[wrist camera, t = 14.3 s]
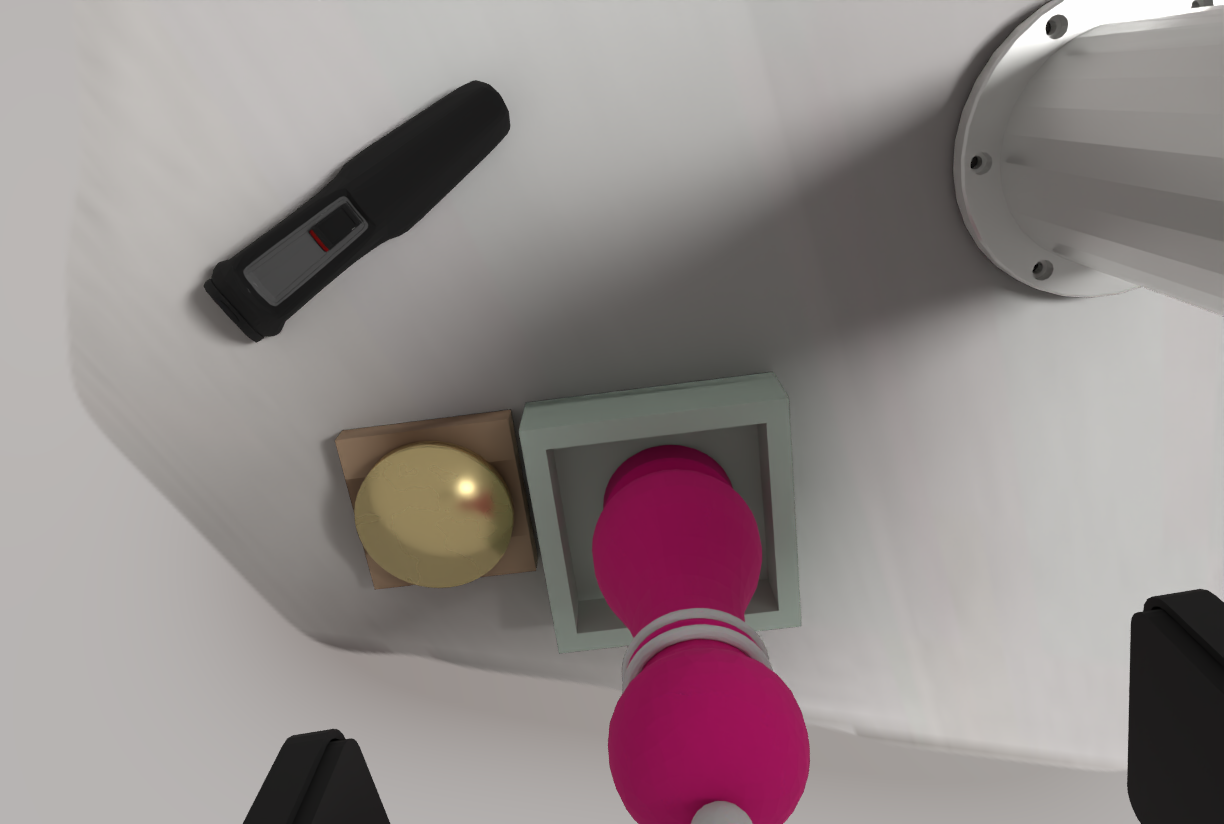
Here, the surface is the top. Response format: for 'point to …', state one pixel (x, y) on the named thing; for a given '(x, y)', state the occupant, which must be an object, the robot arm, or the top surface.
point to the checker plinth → (474, 432)
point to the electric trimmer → (359, 209)
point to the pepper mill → (693, 650)
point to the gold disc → (434, 514)
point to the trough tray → (625, 425)
